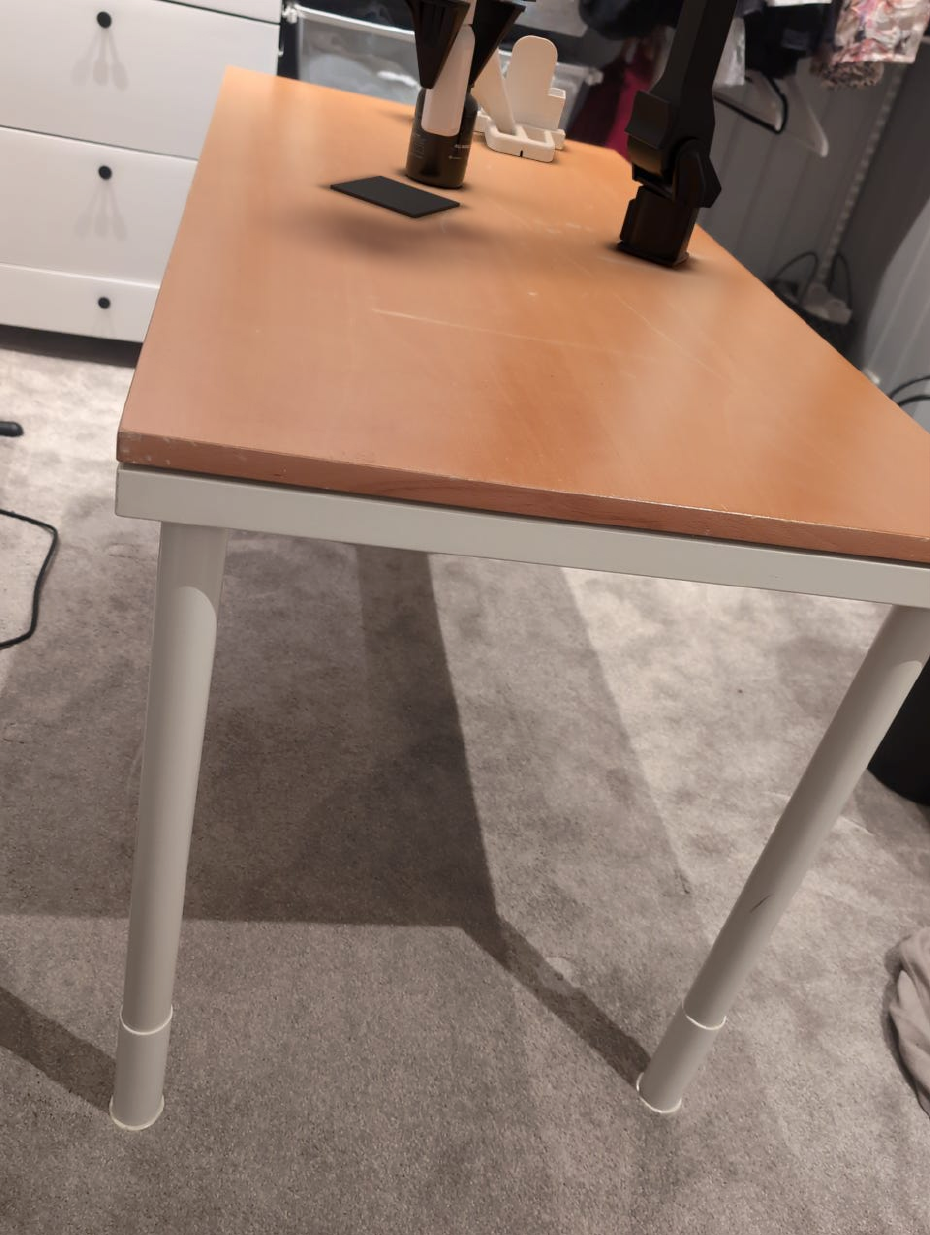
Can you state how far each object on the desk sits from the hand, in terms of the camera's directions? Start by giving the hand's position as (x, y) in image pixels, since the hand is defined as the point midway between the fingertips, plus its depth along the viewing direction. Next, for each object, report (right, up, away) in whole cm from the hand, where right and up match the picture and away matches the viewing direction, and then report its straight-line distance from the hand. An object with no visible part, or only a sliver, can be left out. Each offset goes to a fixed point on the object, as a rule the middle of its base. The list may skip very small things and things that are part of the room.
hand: (447, 86), depth 90 cm
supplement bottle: (-2, +3, +27) cm, 27 cm away
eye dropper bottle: (-1, -3, +2) cm, 4 cm away
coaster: (-6, -3, +17) cm, 18 cm away
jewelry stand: (+3, +21, +54) cm, 58 cm away
